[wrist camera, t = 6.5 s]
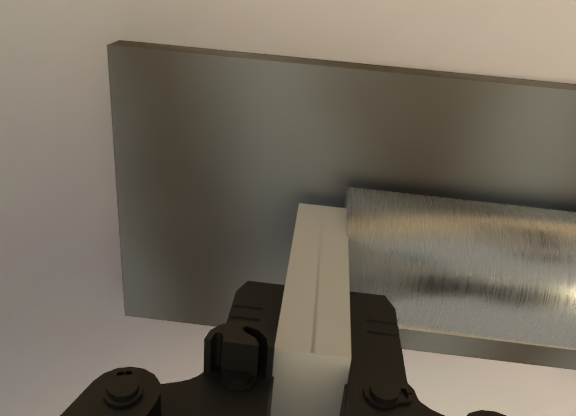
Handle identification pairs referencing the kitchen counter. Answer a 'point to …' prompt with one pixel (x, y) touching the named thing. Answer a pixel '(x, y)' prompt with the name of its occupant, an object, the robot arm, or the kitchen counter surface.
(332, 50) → the kitchen counter surface
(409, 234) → the tube
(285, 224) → the board
